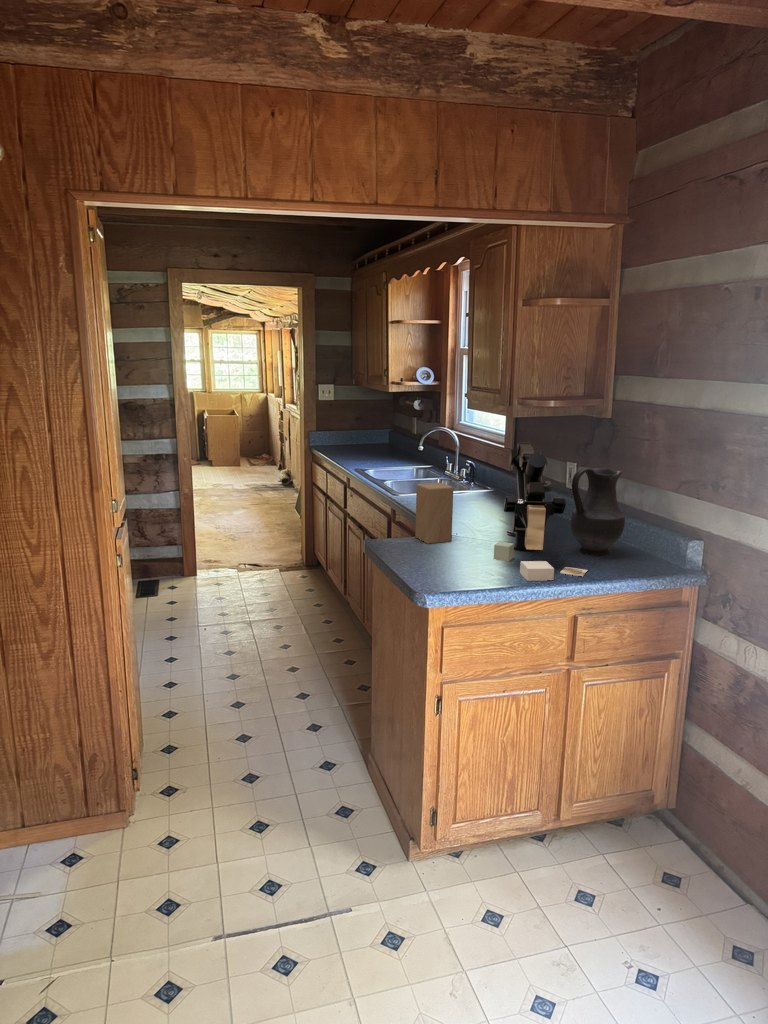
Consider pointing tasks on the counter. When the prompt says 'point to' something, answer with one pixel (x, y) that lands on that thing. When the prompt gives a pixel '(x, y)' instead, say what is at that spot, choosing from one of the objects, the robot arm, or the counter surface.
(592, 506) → the pitcher
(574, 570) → the tile
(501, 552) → the sage cube
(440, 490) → the wooden block
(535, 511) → the maple block
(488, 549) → the counter surface
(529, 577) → the cream base block
